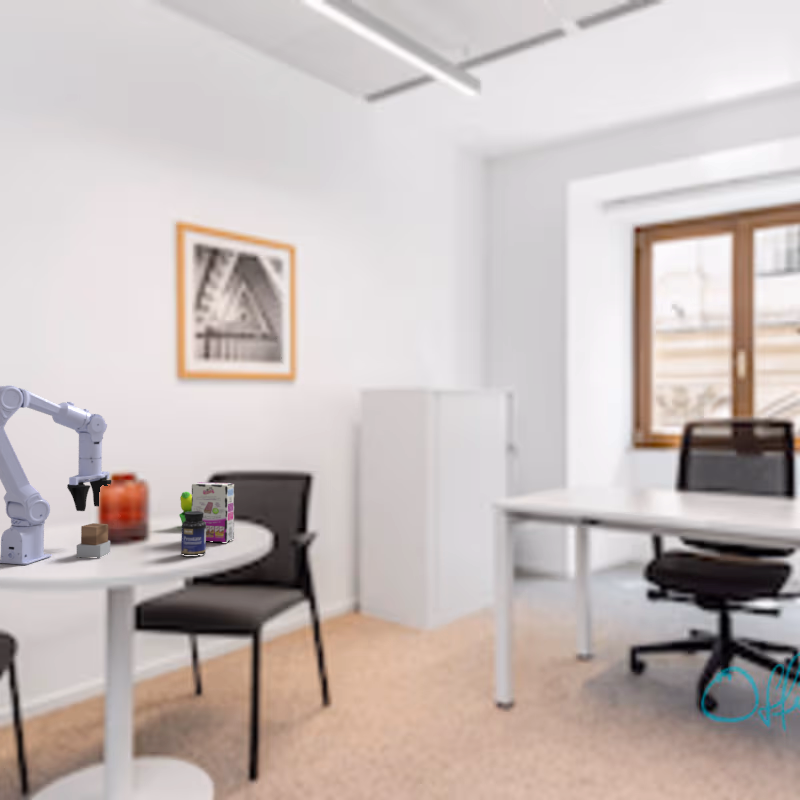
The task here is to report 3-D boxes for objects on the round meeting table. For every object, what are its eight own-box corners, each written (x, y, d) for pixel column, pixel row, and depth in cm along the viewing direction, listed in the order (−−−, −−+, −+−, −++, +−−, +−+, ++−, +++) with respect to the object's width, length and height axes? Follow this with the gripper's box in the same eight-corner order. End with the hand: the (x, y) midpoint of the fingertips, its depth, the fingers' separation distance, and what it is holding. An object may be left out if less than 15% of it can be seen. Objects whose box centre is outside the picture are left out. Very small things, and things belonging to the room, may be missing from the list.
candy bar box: (234, 540, 202) (235, 483, 201) (226, 543, 197) (227, 485, 197) (199, 537, 204) (200, 481, 204) (190, 541, 199) (191, 483, 199)
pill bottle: (180, 558, 180) (181, 514, 179) (181, 552, 185) (182, 510, 185) (205, 556, 181) (206, 514, 181) (205, 551, 187) (206, 510, 187)
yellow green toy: (203, 531, 213) (203, 494, 213) (174, 531, 213) (174, 494, 213) (213, 524, 225) (214, 489, 225) (185, 524, 225) (186, 488, 225)
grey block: (100, 559, 178) (100, 545, 178) (76, 559, 178) (76, 545, 178) (110, 553, 184) (110, 540, 184) (87, 553, 184) (87, 540, 184)
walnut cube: (96, 545, 178) (96, 527, 178) (81, 543, 179) (81, 526, 179) (107, 541, 183) (108, 524, 183) (92, 540, 184) (93, 523, 184)
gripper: (86, 461, 182) (85, 513, 182) (119, 456, 196) (118, 505, 197) (62, 460, 184) (61, 512, 184) (96, 455, 198) (96, 503, 198)
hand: (89, 508), depth 190 cm, fingers open, 7 cm apart
